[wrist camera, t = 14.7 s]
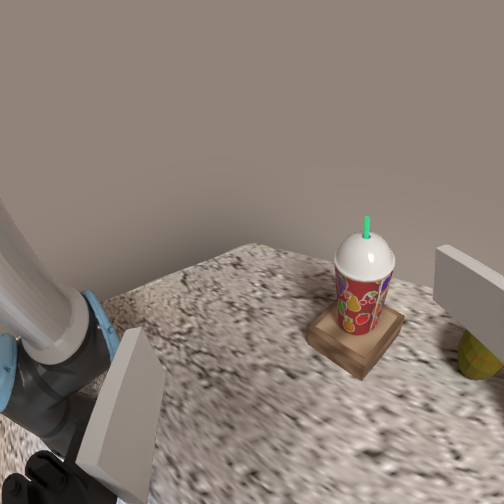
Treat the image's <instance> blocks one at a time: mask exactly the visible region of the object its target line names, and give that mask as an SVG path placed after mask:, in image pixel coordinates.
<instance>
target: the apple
mask: <svg viewBox="0 0 504 504" xmlns="http://www.w3.org/2000/svg"><path fill="white" fill-rule="evenodd" d="M458 363H459V368H460V370H461V371H462V373H463V375H465V376H466V377H467V378H469V379H472V380H482V379H486V378H489V377H492V376H493V375H494V374H495V373H496V372H498V371H499V370H500V369H501V368H502V367H503V366H504V364H503V363H502V362H501V361H500V360H499V359H498V358H497V357H496V356H495V355H494V354H493V353H492V352H491V351H490V350H489V349H487V348H486V347H485V346H484V345H483V344H482V343H481V342H480V341H479V340H478V339H477V338H476V337H475V336H474V335H472V334H471V333H470V332H469V331H468V330H467V329H465V332H464V334H463V336H462V339H461V341H460V343H459V346H458Z"/></svg>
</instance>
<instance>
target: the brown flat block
mask: <svg viewBox="0 0 504 504" xmlns="http://www.w3.org/2000/svg"><path fill="white" fill-rule="evenodd" d="M404 317H405V316H404V315H402V314H400V313H398V312H397V311H395V310H393V309H391V308H389V307H388V306H386V305H383V308H382V312H381V315H380V318H379V321H378V324H377V325H376V327H375V328H374V329H372V330H371V331H370V332H368V333H367V334H364V335H358V336H357V335H352V334H350V333H347V332H346V331H345V330H344V329H343V327H342V326H341V325H340V323H339V321H338V307H337V299H336V300H335V301H334V302H333V303H332V304H331V305H330V306H329V307H328V308H327V309H326V310H325V311H324V312H323V313H322V314H321V315H320V316H319V317H318V318H317V319H316V320H315V321H314V322H312V323H311V324H310V325H309V326H308V327H307V336H308V344H309V345H310V346H311V347H313V348H314V349H316V350H317V351H319V352H320V353H321V354H323V355H324V356H326V357H327V358H329V359H330V360H331V361H333V362H334V363H336V364H337V365H339V366H340V367H342V368H343V369H344V370H346V371H347V372H349V373H350V374H352V375H353V376H355V377H356V378H358V379H359V380H361V381H362V380H363V379H364V378H365V376H366V375H367V374H368V373H369V372H370V370H371V369H372V368H373V367H374V365H375V364H376V363H377V362H378V361H379V359H380V358H381V357H382V355H383V354H384V353H385V352H386V350H387V349H388V348H389V346H390V345H391V344H392V342H393V341H394V340H395V338H396V337H397V336H398V334H399V333H400V330H401V327H402V324H403V320H404Z"/></svg>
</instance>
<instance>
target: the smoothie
mask: <svg viewBox="0 0 504 504" xmlns="http://www.w3.org/2000/svg"><path fill="white" fill-rule="evenodd" d="M369 227H370V217H369V216H366V217H365V223H364V231H359V232H355V233H354V234H351V235H350V236H348V237H347V238H346V239H345V240H344V241H343V242H342V244H341V245H340V247H339V248H338V249H337V250H336V252H335V255H334V264H335V274H336V289H337V307H338V321H339V323H340V325H341V326H342V327H343V329H344V330H345V331H346V332H347V333H350V334H352V335H357V336H358V335H364V334H367V333H368V332H370V331H371V330H372V329H374V328H375V327H376V325H377V324H378V321H379V318H380V315H381V312H382V308H383V305H384V302H385V298H386V295H387V291H388V288H389V284H390V280H391V277H392V273H393V269H394V266H395V257H394V254H393V252H392V251H391V249H390V247H389V245H388V243H387V242H386V241H385V240H384V238H383V237H381V236H380V235H378V234H377V233H374V232H371V231H369Z"/></svg>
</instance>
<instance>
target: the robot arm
mask: <svg viewBox="0 0 504 504" xmlns="http://www.w3.org/2000/svg"><path fill="white" fill-rule="evenodd" d="M435 254H436V255H435V277H434V291H433V300H434V301H435V302H436V303H437V304H439V305H440V306H441V307H442V308H443V309H444V310H446V311H447V312H448V313H449V314H450V315H451V316H452V317H454V318H455V319H456V320H457V321H458V322H459V323H460V324H461V325H463V326H464V327H465V328H466V329H467V330H468V331H469V332H470V333H471V334H472V335H474V336H475V337H476V338H477V339H478V340H479V341H480V342H481V343H482V344H483V345H484V346H485V347H486V348H487V349H489V350H490V351H491V352H492V353H493V354H494V355H495V356H496V357H497V358H498V359H499V360H500V361H501V362H502V363H503V364H504V277H503V276H501V275H500V274H498V273H497V272H495V271H493V270H491V269H490V268H488V267H487V266H485V265H483V264H482V263H480V262H478V261H476V260H475V259H473V258H471V257H469V256H468V255H466V254H464V253H462V252H461V251H459V250H457V249H455V248H453V247H452V246H450V245H448V244H446V245H443V246H440V247H438V248H436V253H435ZM0 320H1V321H2V322H3V323H4V324H6V325H7V326H8V327H9V328H10V329H12V330H13V331H14V332H16V333H17V334H18V335H19V336H20V337H21V338H20V339H18V340H16V339H15V337H14V336H12V335H10V334H8V333H5V334H0V413H2V414H3V415H5V416H6V417H8V418H9V419H11V420H12V421H14V422H15V423H17V424H18V425H20V426H21V427H23V428H25V429H26V430H28V431H30V432H31V433H33V434H35V435H36V436H38V437H39V438H40V439H41V440H42V441H43V443H44V444H45V445H46V446H47V447H48V448H49V449H50V450H51V451H52V452H53V453H54V454H55V455H57V456H58V457H60V458H62V459H64V462H62V461H61V460H60V459H59V458H57V457H56V456H55V455H54V454H53V453H52V452H50V451H48V450H41V451H38V452H36V453H35V454H33V455H32V456H31V457H30V458H29V460H28V461H27V463H26V467H25V475H26V476H27V477H28V478H29V479H30V480H32V481H29V480H28V479H26V478H25V477H24V476H23V475H21V474H19V473H13V474H11V475H9V476H8V477H7V478H6V479H5V481H4V483H3V486H2V504H116V502H117V497H119V498H120V499H121V500H123V501H124V502H126V503H128V504H148V495H149V486H150V477H151V469H152V462H153V454H154V447H155V440H156V434H157V427H158V421H159V414H160V408H161V403H162V397H163V391H164V385H165V380H166V375H167V374H166V373H165V371H164V369H163V367H162V365H161V363H160V362H159V360H158V358H157V356H156V354H155V352H154V350H153V348H152V346H151V344H150V342H149V340H148V338H147V336H146V334H145V332H144V330H143V328H142V327H137V328H132V329H127V330H126V331H125V333H124V335H123V338H122V340H120V338H119V336H118V334H117V333H116V331H115V329H114V328H113V326H112V324H111V322H110V320H109V319H108V317H107V315H106V313H105V311H104V310H103V308H102V306H101V304H100V303H99V301H98V299H97V297H96V296H95V294H94V293H93V291H91V290H86V291H82V292H81V293H79V292H78V291H77V290H76V289H74V288H73V287H70V286H67V285H59V284H58V283H57V281H56V280H55V279H54V278H53V276H52V275H51V274H50V272H49V271H48V270H47V269H46V267H45V266H44V265H43V263H42V262H41V260H40V259H39V258H38V256H37V255H36V254H35V252H34V251H33V249H32V248H31V247H30V245H29V244H28V242H27V241H26V239H25V238H24V236H23V235H22V233H21V232H20V230H19V229H18V227H17V226H16V224H15V223H14V221H13V219H12V218H11V216H10V214H9V213H8V211H7V210H6V208H5V206H4V204H3V203H2V201H1V199H0ZM107 370H109V371H108V373H107V376H106V378H105V381H104V383H103V386H102V388H101V391H100V393H99V396H98V398H97V401H95V400H94V399H92V398H91V397H90V396H88V395H87V394H85V393H82V392H78V390H80V389H81V388H83V387H84V386H86V385H87V384H88V383H90V382H91V381H93V380H94V379H96V378H97V377H99V376H100V375H101V374H103V373H104V372H106V371H107Z"/></svg>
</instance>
